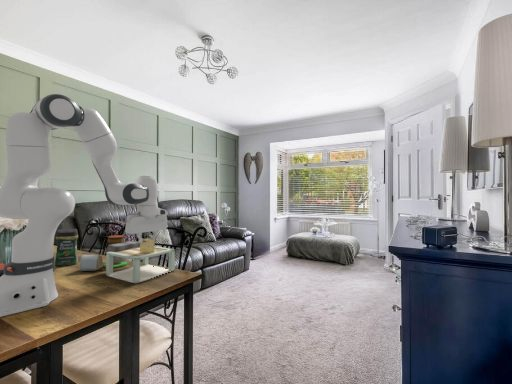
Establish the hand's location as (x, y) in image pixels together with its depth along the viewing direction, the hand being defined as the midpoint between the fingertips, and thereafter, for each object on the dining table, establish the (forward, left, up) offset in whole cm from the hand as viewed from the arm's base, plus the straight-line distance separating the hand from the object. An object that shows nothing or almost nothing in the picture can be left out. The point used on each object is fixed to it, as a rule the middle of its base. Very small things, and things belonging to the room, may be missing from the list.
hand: (147, 241), depth 123 cm
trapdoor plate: (0, +8, -8) cm, 11 cm away
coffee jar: (-10, +51, -15) cm, 54 cm away
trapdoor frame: (0, +4, -15) cm, 16 cm away
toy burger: (+2, +28, -15) cm, 32 cm away
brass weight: (0, 0, -5) cm, 5 cm away
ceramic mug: (-8, +30, -15) cm, 35 cm away
